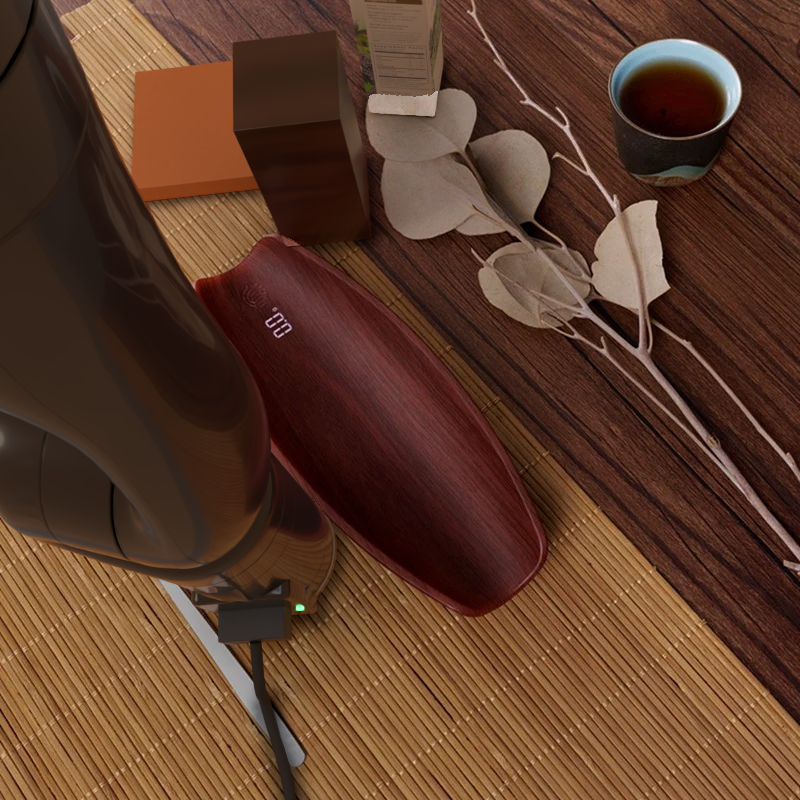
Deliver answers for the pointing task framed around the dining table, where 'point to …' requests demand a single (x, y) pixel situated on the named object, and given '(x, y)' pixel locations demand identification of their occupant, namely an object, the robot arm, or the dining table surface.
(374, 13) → the syrup box
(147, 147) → the stand
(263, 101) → the column
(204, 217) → the dining table surface
